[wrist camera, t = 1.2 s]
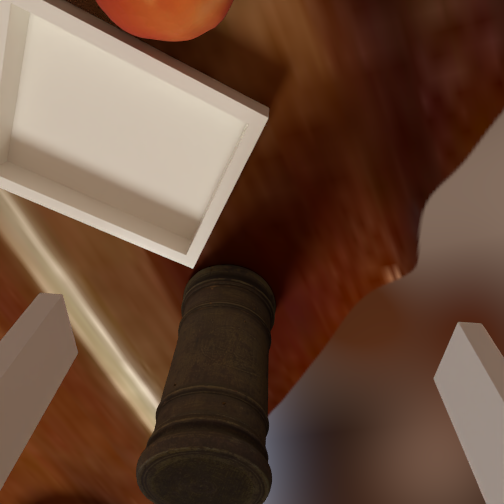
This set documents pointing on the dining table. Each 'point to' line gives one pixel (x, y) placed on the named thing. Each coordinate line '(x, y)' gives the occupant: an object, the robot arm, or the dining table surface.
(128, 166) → the dish
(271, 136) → the dining table surface
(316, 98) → the dining table surface
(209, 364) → the container
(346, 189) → the dining table surface
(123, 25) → the tomato
